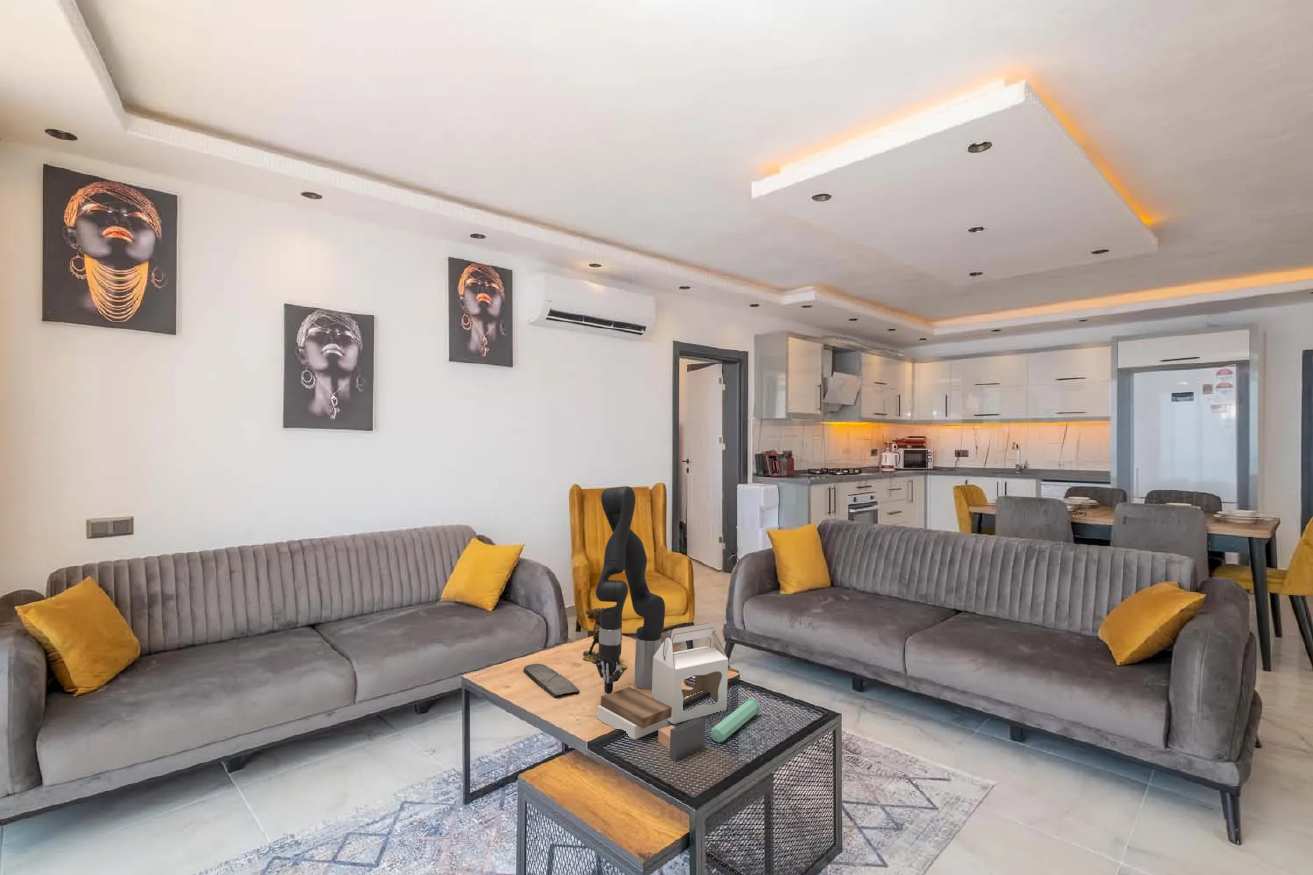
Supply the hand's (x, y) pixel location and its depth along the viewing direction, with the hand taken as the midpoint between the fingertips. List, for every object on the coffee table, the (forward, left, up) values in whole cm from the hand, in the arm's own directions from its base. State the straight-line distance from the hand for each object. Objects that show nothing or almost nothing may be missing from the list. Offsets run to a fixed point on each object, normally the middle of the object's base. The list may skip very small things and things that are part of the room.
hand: (608, 692), depth 207 cm
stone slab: (+2, -31, -6) cm, 32 cm away
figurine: (-27, -35, -6) cm, 44 cm away
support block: (0, +29, -6) cm, 30 cm away
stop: (0, +36, -6) cm, 37 cm away
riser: (0, +12, -6) cm, 13 cm away
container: (-23, +35, -6) cm, 42 cm away
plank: (0, +13, -2) cm, 13 cm away
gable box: (-21, +17, -6) cm, 28 cm away
